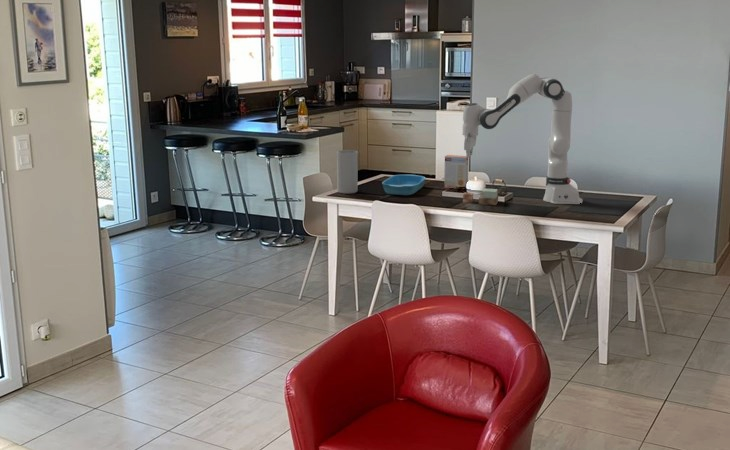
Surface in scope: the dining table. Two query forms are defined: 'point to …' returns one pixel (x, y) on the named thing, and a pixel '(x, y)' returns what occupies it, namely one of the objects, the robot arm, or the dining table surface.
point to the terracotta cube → (468, 197)
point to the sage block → (489, 193)
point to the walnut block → (488, 201)
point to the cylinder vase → (347, 171)
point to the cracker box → (455, 171)
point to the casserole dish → (403, 184)
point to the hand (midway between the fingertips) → (469, 155)
